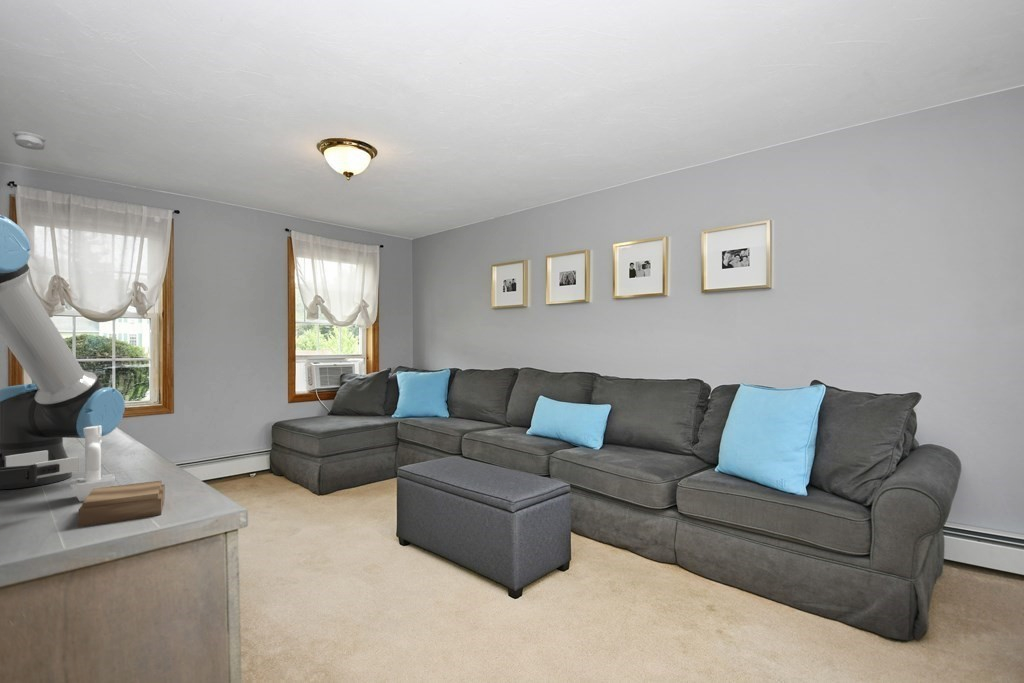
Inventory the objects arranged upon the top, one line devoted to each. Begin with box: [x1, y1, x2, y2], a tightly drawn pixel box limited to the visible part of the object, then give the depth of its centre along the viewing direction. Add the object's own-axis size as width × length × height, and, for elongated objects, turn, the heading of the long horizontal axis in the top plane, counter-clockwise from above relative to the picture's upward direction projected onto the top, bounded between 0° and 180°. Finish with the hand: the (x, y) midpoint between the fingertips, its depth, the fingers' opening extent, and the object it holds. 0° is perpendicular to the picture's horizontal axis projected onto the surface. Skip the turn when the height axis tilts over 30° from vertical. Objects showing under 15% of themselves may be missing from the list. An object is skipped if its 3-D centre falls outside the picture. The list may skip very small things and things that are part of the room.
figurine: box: [69, 425, 116, 502], centre depth 108 cm, size 7×9×15 cm
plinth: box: [78, 480, 166, 528], centre depth 98 cm, size 12×12×4 cm
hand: (62, 460), depth 103 cm, fingers open, 13 cm apart
